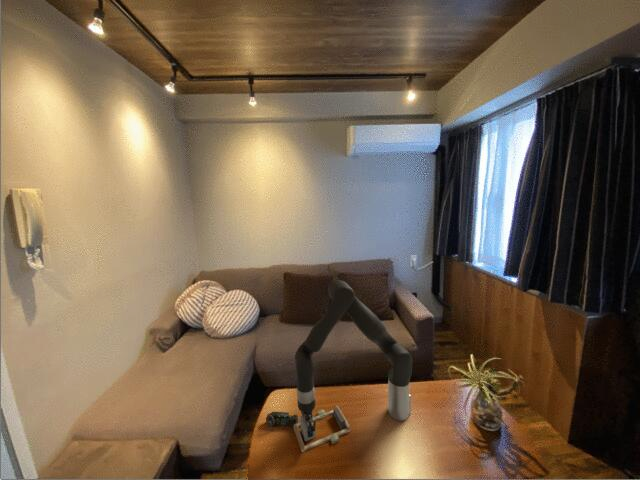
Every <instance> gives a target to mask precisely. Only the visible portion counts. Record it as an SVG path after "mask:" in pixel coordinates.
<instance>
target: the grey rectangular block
mask: <svg viewBox="0 0 640 480" xmlns="http://www.w3.org/2000/svg"><path fill="white" fill-rule="evenodd" d="M314 417H315V416H313V420H315V419H314ZM299 419H300V422H301V427H300V429H301V432H300V433H301V436H302V439H303V440H304V442H308V441H311V440H314V439H315V438H317V429H316V425H315V431H314V432H313V436H312V437H310V438H309V437H308V430H307V425H306V424H305V418H304V416H302V415H300V418H299ZM309 421H310V420H309ZM307 422H308V421H307Z"/></svg>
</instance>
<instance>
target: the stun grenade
mask: <svg viewBox="0 0 640 480" xmlns="http://www.w3.org/2000/svg"><path fill="white" fill-rule="evenodd" d="M289 412H290V411H271V412H270V413H267V415H266V417H265V424H266V425H267V426H268V428H269V430H270V431H271V432H272V431H273V430H274V427H275V426H288V427H289V426H291V427H292V428H294V424H296V423H297V424H298V423H299V416H298V414H292V415H290V413H289Z"/></svg>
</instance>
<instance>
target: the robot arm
mask: <svg viewBox="0 0 640 480" xmlns="http://www.w3.org/2000/svg"><path fill="white" fill-rule="evenodd" d="M327 289H328V291H327V292H328V296H329V299H331V300H330V301H331V302H330V305H329V307H328V309H327V310H326V312H325V314H324V315H323V316H322V317H321V318H320V319H319V320H318V321H317V322H316V323H315V324H314V325H313V327H312V328H311V330H310V331H309V333H308V335H307V337H306V339H305V340H304V341H303V342H302V343H301V345H300V346H299V347H298V348H297V350H296V352H295V355H294V362H295V363H294V364H295V368H296V398H297V401H296V402H297V408H298V410H299V411H300V414H301V416H304V418H305V424H306V425H307V430H308V437H309V438H310V437H312V436H313V432H314V431H315V426H316V421H315V420H313V417H314V409H315V407H316V402H317V401H316V389H315V382H314V381H315V379H314V372H315V371H314V370H315V368H314V367H315V365H314V359H313V354H314V353H318V352H320V350H322V347H323V346H324V344H325V342H326V341H327V338H328V337H329V335H330V333H331V332H332V330H333V329H334V328H335V326H336V325H337V323H338V322H339V321H340V319H341V318H342V317H343V316H344V315H345V313H347V314H348V316H349V317H350V319H351V320H352V322H353V323H354V325H356V327H357V328H358V330H359V331H360V332H361V333H362V335H364V336H365V337H366V338H367V339H368V340H370V342H372V343H374V344H375V345H377V346H378V347H379V349H380V350H381V351H382V353H383V355H384V356H385V357H386V359H387V360H388V361H389V363H390V364H391V366H392V368H391V369H389V371H388V374H387V379H388V381H387V382H388V383H387V385H388V386H387V387H388V390H387V392H388V394H387V395H388V396H387V403H388V407H387V410H388V415H389V417H391V418H392V419H394V420H396V421H401V422H403V421H406V420H407V419H409V417H410V415H411V414H412V396H411V394H410V380H411V378H412V374H413V373H412V371H413V356H412V354H411V352H409V351H408V350H407V349H406V348H405V347H404V346H403V345H402V344H401V343H400V342H399V341H397V340H396V339H395V338H394V337H392V335H391V334H390V333H389V332H388V330H387V328H386V326H385V324H384V323H383V322H382V321H381V320H380V319H379V317H378V316H377V315H376V314H375V313H374V312H373V311H372V310H371V309H370V308H369V307H368V306H366V305H365V304H364V303H363V302H362V301H360V300H359V298H358V297H357V296H356V295H355V291H354V290H353V288H352V287H351V286H350V285H349V284H348V283H347V282H346V281H343V280H341V279H336V280H333V281H331V282H330V283H329V286H328V288H327ZM309 420H310V421H309ZM307 421H308V422H307Z"/></svg>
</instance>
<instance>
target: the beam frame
mask: <svg viewBox="0 0 640 480" xmlns="http://www.w3.org/2000/svg"><path fill="white" fill-rule="evenodd" d="M331 415H333V417H334V419H335V421H336V423H337V425H338V426H339V429H340V430H339V431H337V432H333V433H331V434H329V435H327V436H325V437H323V438H320V439H317V440H315V441H313V442H310V443H309V444H306V445H305V443H304V441H303V440H304V439H303V436H302V434H301V432H300V429H299V428H301V421H300V422H298V424H297V423H296V424H294V427H293V430H294V433H295V435H296V439H297V441H298V445H299V447H300V451H301V453H304V452H306V451H309V450H311V449H313V448H315V447H317V446H320V445H323V444H325V443H327V442H329V441H330V442H331V445H333V444H336V443H338V442H340V440H339V439H340V438H339V437H341V436H343V435H345V434H347V433H350V432H351V425H350V424H349V422H348V421H347V418H345V415H344V413H343V412H342V410H341V408H340V407H339V405H335V407H333V409H331V410H329V411H325V409H324V408H323V409H319V410H317V415H316V416H313V417H314V419H315V422H316V421H318V420H322V419H324V418H327V417H329V416H331Z"/></svg>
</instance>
